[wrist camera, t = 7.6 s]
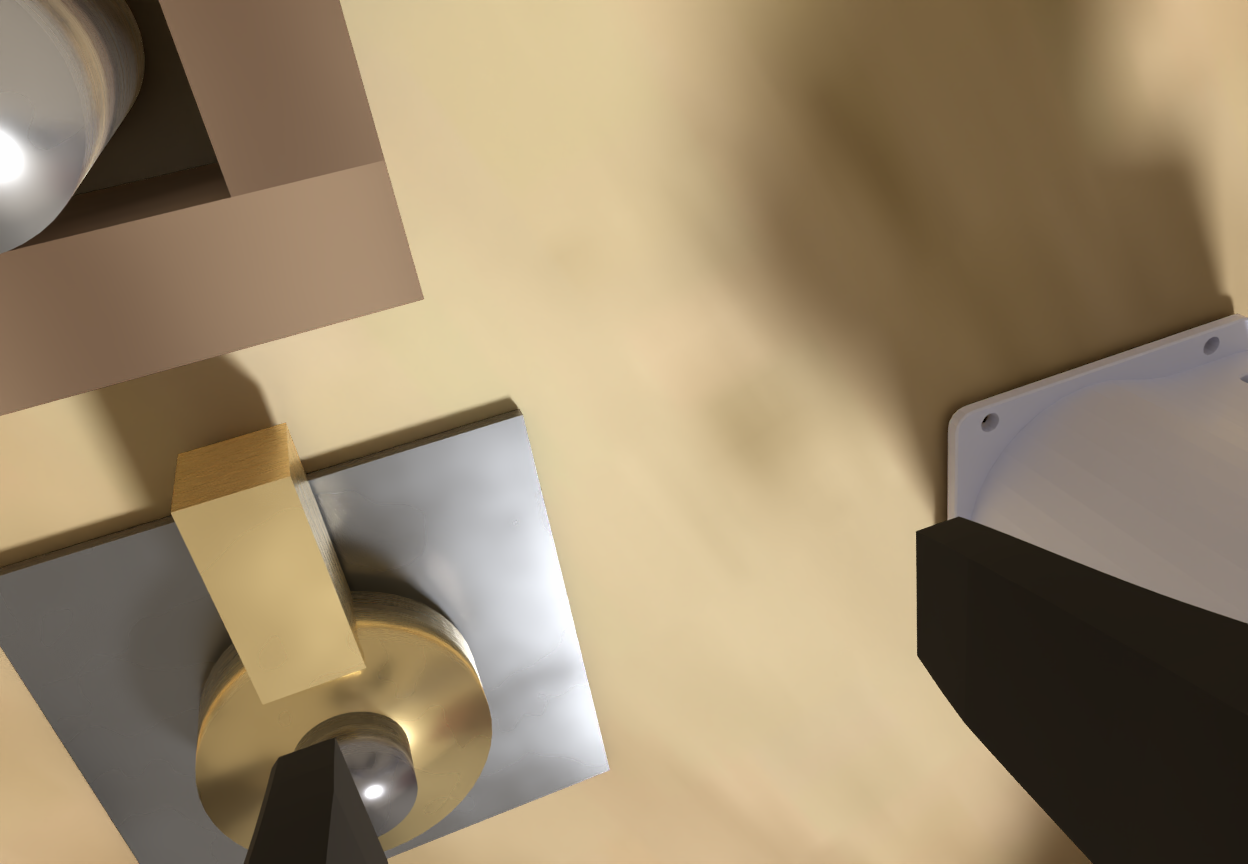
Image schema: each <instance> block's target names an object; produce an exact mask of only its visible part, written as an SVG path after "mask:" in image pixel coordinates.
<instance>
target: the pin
mask: <svg viewBox="0 0 1248 864" xmlns="http://www.w3.org/2000/svg"><path fill="white" fill-rule="evenodd" d="M144 69H145V54H144V46H143V41H142V36H141V33H140V30H139V27H138V24H137V22H136V20H135V18H134V16H133V13H132V11H131V10H130V8H129V6H128V5H127V3H126V2H125V0H0V254H1V253H4V252H7V251H9V250H11V249H13V248H15V247H17V246H20V245H22V244H24V243H25V242H27V241H28V240H30V239H31V238H33V237H34V236H36V235H37V234H39V233H40V232H41V231H43V230H44V229H45V228H46V227H47V226H48V225H49V224H50V223H51V222H52V221H54V219H55V218H56V217H57V216H58V215H59V213H60V212H61V211H62V210H63V208H64V207H65V206H66V204H67V203H68V201H69V200H70V198H71V197H72V195H73V194H74V192H75V191H76V189H77V188H78V186H79V185H80V183H81V182H82V181H83V179H84V178H85V176H86V175H87V173H88V172H89V170H90V169H91V167H92V166H93V164H94V163H95V161H96V160H97V158H98V157H99V155H100V154H101V152H102V151H103V149H104V148H105V146H106V145H107V143H108V142H109V140H110V139H111V137H112V136H113V134H114V133H115V131H116V130H117V128H118V127H119V125H120V124H121V122H122V121H123V119H124V118H125V116H126V115H127V113H128V112H129V111H130V109H131V107H132V106H133V104H134V102H135V101H136V99H137V97H138V94H139V92H140V89H141V86H142V82H143V77H144Z"/></svg>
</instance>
